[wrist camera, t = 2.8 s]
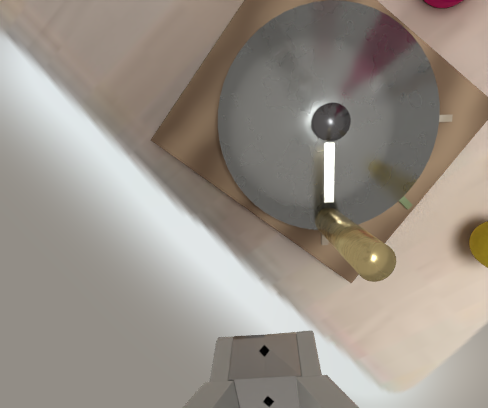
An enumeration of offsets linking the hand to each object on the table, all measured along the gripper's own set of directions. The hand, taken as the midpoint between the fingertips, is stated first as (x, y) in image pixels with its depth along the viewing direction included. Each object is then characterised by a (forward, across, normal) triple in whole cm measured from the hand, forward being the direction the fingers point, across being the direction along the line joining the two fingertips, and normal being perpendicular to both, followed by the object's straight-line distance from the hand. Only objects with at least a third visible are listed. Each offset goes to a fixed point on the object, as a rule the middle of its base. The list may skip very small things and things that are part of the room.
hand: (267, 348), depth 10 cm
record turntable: (+27, -7, -2) cm, 28 cm away
